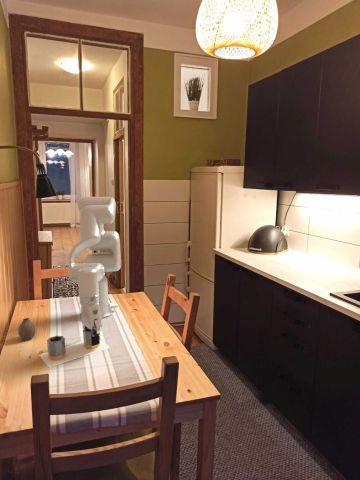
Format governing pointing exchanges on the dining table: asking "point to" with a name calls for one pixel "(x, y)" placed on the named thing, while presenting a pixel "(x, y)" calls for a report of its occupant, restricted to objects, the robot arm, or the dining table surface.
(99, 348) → the pin board
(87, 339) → the loose sleeve
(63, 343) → the seated sleeve
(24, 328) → the vase
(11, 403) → the dining table surface
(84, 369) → the dining table surface
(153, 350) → the dining table surface
